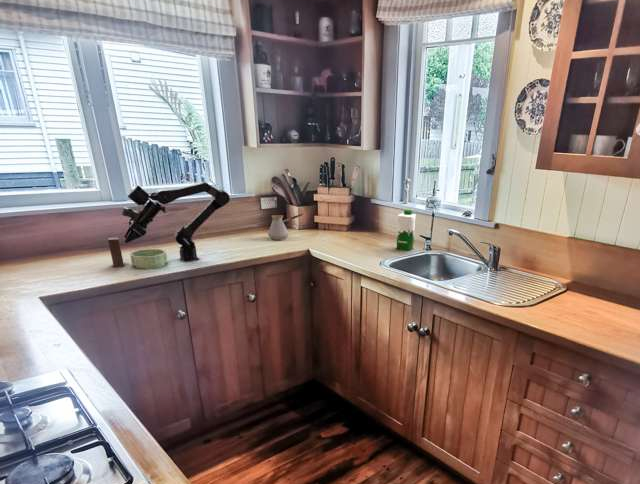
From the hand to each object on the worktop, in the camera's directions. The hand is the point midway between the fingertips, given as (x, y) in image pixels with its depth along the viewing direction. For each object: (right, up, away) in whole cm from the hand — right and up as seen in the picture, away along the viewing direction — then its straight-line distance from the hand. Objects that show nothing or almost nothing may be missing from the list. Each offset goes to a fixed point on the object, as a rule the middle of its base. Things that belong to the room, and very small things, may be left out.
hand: (125, 240), depth 204 cm
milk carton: (+126, +6, +49) cm, 135 cm away
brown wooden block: (-4, -11, +3) cm, 12 cm away
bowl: (+9, -10, +5) cm, 14 cm away
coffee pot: (+60, +13, +59) cm, 85 cm away
